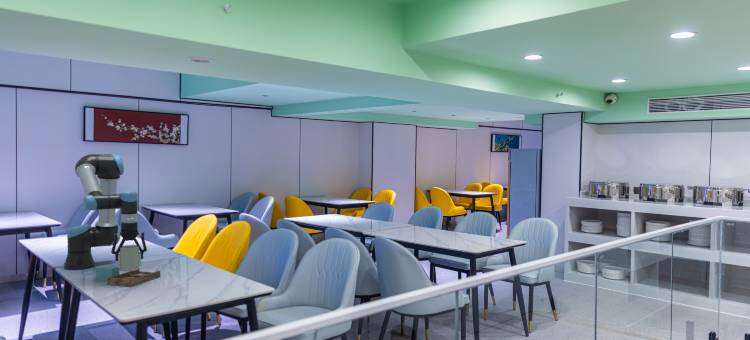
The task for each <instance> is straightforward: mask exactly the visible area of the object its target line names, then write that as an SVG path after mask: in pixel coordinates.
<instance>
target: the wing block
mask: <svg viewBox="0 0 750 340" xmlns="http://www.w3.org/2000/svg"><path fill="white" fill-rule="evenodd" d="M119 269H120V268H118V265H117V266H115V265H106V264H105V265H104V264H103V265H99V266H96V267H95V281H96V282H106V283H107V278H110V277H113V276H116V275H119V274H120V270H119Z"/></svg>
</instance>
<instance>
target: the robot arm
mask: <svg viewBox="0 0 750 340" xmlns="http://www.w3.org/2000/svg"><path fill="white" fill-rule="evenodd" d="M74 172H75V175H76V176H77V178H79V180H80V183H81V185H82V189H83V191H84V193H85V196H84V197H83V200H82V204H83V208H84V210H85V211H98V220H97V222H95V225H94V226H92V225H91V224H80V225H76V226H71V227H70V228H69V229H68V230H67V236H66V238H67V255H66V257H65V262H64V263H63V269H65V270H85V269H91V268H94V267H95V260H94V258H93V257H94V256H93V253H92V248H100V247H111V246H112V248H111V251H110V252H111V254H112V255H115V256H114V257H115V261H116V262H117V266H118V268H119V269H120V248H122V246H124V244H125V243H126V242H128V241H130V242H131V241H134V243H135V245H137V247H138V246H139V267H141V266H142V260H143V259H144V253H145V252H147V251H148V249H147V245H146V241H145V240H146V239H145V232H143V231H138V229H139V228H138V226H139V225H138V201H139V200H138V199H139V197H138V192H137V191H135V190H134V191H133V190H129V191H128V190H126V191H122V192H121V193H119V194H118V193H117V187H118V186H117V185H118V180H120V179H121V176H122V175H124V173H125V167H124V162H123V159H122V156H121V155H119V154H112V153H105V154H103V153H101V154H99V153H98V154H97V153H90V154H86V155H84V156H82V157H81V158H79V159H78V161H77V162H76V163H75V166H74ZM98 180H99V181H98ZM116 210H120V221H121V223H120V225H119V224H118V223H119V222H117V220H116V212H117V211H116ZM138 236H139V237H140V240H141V244H142V247H141V245H140V243H139V241H138V239H137V237H138ZM121 238H122V239H121ZM120 240H121V241H120ZM117 245H118V247H117ZM116 248H117V249H116ZM142 248H143V249H142Z"/></svg>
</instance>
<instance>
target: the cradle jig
mask: <svg viewBox="0 0 750 340" xmlns="http://www.w3.org/2000/svg"><path fill="white" fill-rule="evenodd" d="M158 278H161V270H157V271H153V272H151V271H144V270H143V271H141V270H140V268H139V269H138V270H135V271H125V272H123V273H119V275H116V276H113V277H110V278H107V282H106V283H107V286H109V285H110V286H117V287H118V286H119V287H127V288H128V287H129V288H131V287H132V288H133V287H135V286H138V285H141V284H143V283H146V282H150V281H152V280H154V279H155V280H156V279H158Z"/></svg>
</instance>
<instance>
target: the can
mask: <svg viewBox="0 0 750 340" xmlns="http://www.w3.org/2000/svg"><path fill="white" fill-rule="evenodd" d="M139 252H140V250H139V246H138V247H137V245H136V244H129V245H128V244H127V245H123V246H122V248H120V252H119V254H120V268H119V272H129V271H135V270H138V269H139V270H140V266H139Z"/></svg>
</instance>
